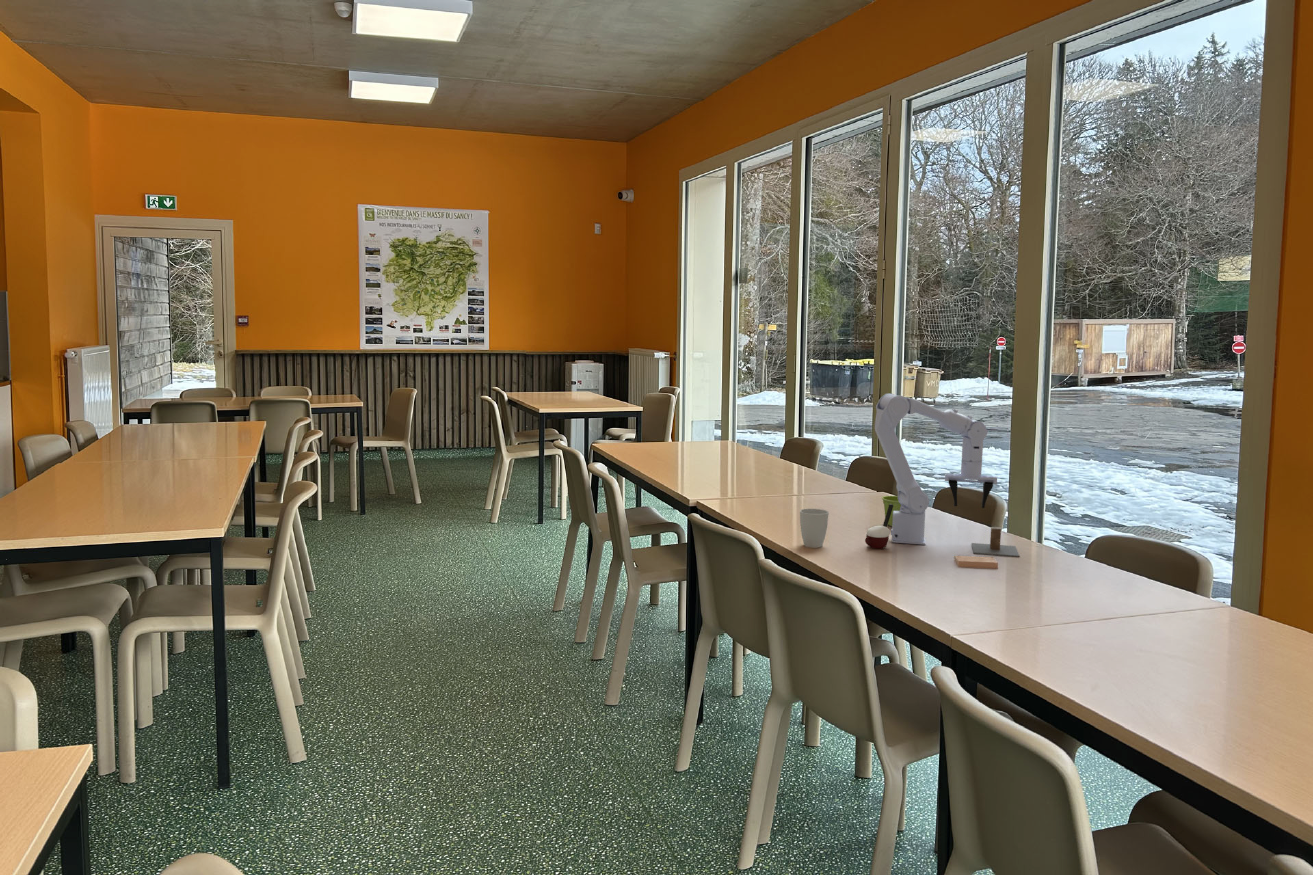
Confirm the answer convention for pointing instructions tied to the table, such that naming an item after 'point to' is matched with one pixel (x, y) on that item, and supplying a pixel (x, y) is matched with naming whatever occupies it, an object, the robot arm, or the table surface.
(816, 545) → the cup
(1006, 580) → the table surface
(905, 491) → the robot arm
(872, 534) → the cocoa
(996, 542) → the stick
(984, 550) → the mat
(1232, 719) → the table surface
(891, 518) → the plant pot
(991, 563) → the tile
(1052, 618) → the table surface
